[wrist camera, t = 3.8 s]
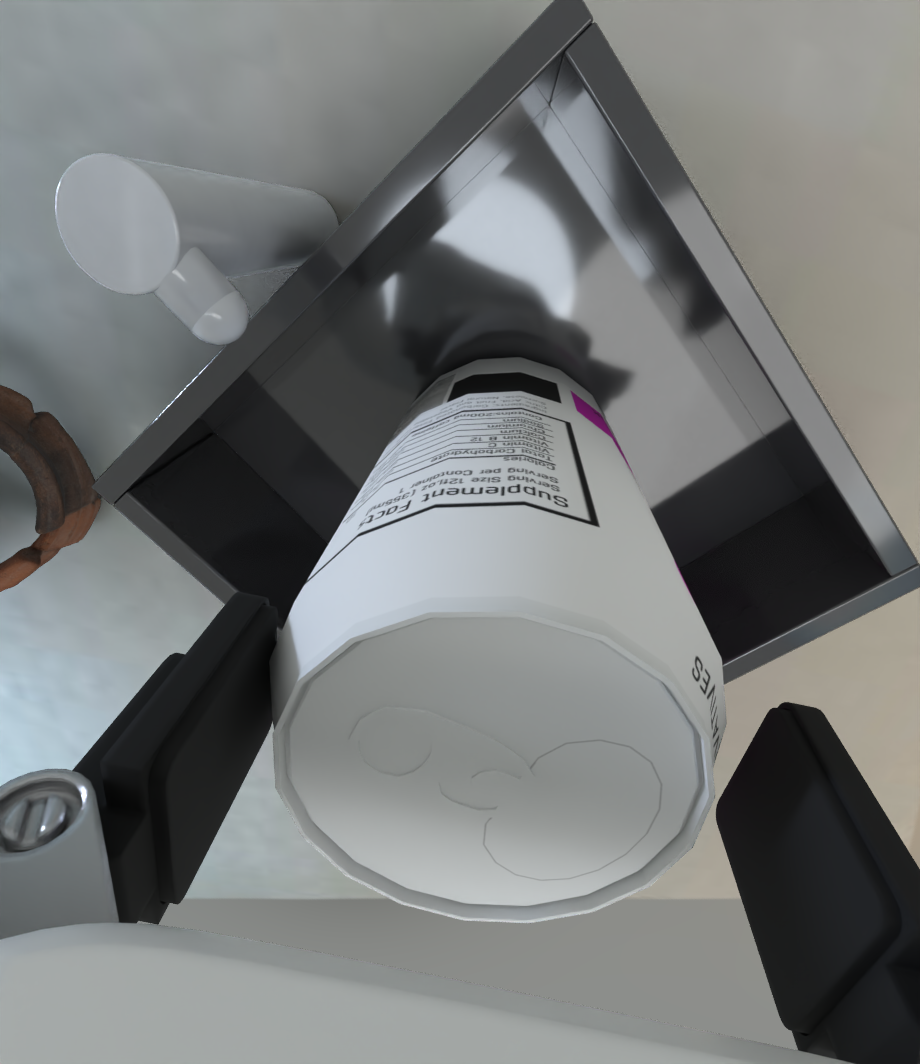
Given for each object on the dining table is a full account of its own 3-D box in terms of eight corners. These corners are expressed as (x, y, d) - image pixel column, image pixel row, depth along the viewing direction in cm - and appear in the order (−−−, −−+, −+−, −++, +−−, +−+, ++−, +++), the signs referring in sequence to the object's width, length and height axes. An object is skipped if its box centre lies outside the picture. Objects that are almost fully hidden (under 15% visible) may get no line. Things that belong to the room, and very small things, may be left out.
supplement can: (656, 416, 22) (886, 722, 8) (543, 587, 25) (574, 989, 12) (455, 310, 20) (341, 464, 7) (366, 504, 24) (182, 845, 11)
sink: (128, 371, 22) (-150, 475, 13) (493, -40, 16) (464, -404, 7) (473, 706, 29) (452, 940, 19) (833, 498, 22) (1062, 693, 13)
